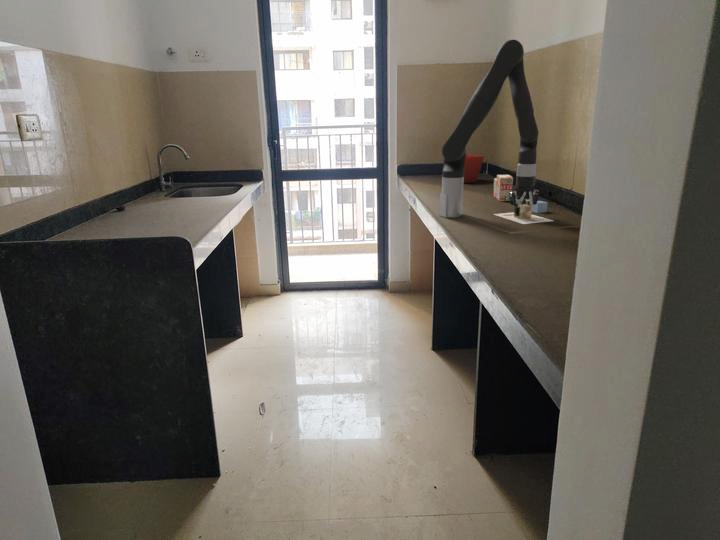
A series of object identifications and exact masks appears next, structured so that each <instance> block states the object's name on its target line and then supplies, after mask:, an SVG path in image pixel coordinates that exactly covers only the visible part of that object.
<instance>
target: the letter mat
mask: <svg viewBox="0 0 720 540" xmlns="http://www.w3.org/2000/svg"><path fill="white" fill-rule="evenodd" d="M492 215H494V216H497V217H500V218H503V219H506V220H509V221H512V222H516V223H519V224H522V225H528V224H537V223H549V222H554V220H553V219H550V218H546V217H542V216H538V215H535V214H532V215H531V218H526V219H520V218H516V217H514V212H505V213H504V212H502V213H493V214H492Z"/></svg>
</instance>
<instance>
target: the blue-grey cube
mask: <svg viewBox="0 0 720 540" xmlns="http://www.w3.org/2000/svg"><path fill="white" fill-rule="evenodd" d="M548 205H549V203H548V202H547V201H543V200H538V201H537V204H534V205H533V206H532V213H536V214H538V213H539V214H540V213H542V214H543V213H547V212H548Z"/></svg>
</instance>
